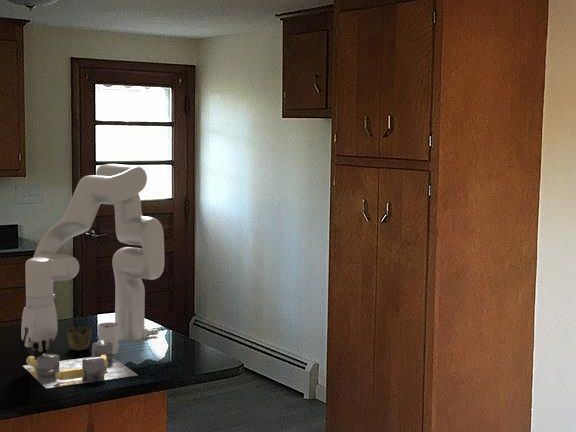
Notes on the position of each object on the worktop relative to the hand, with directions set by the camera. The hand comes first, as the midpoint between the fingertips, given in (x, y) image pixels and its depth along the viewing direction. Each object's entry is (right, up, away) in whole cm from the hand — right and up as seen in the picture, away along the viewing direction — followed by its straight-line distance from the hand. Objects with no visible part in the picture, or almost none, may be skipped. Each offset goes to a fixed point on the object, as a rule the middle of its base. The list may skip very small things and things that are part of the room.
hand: (41, 363), depth 237 cm
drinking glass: (+16, -1, +17) cm, 23 cm away
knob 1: (+1, -1, -5) cm, 5 cm away
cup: (+6, -1, +19) cm, 20 cm away
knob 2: (+17, -1, +4) cm, 17 cm away
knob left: (+14, -3, -11) cm, 18 cm away
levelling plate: (+12, -3, -2) cm, 12 cm away
